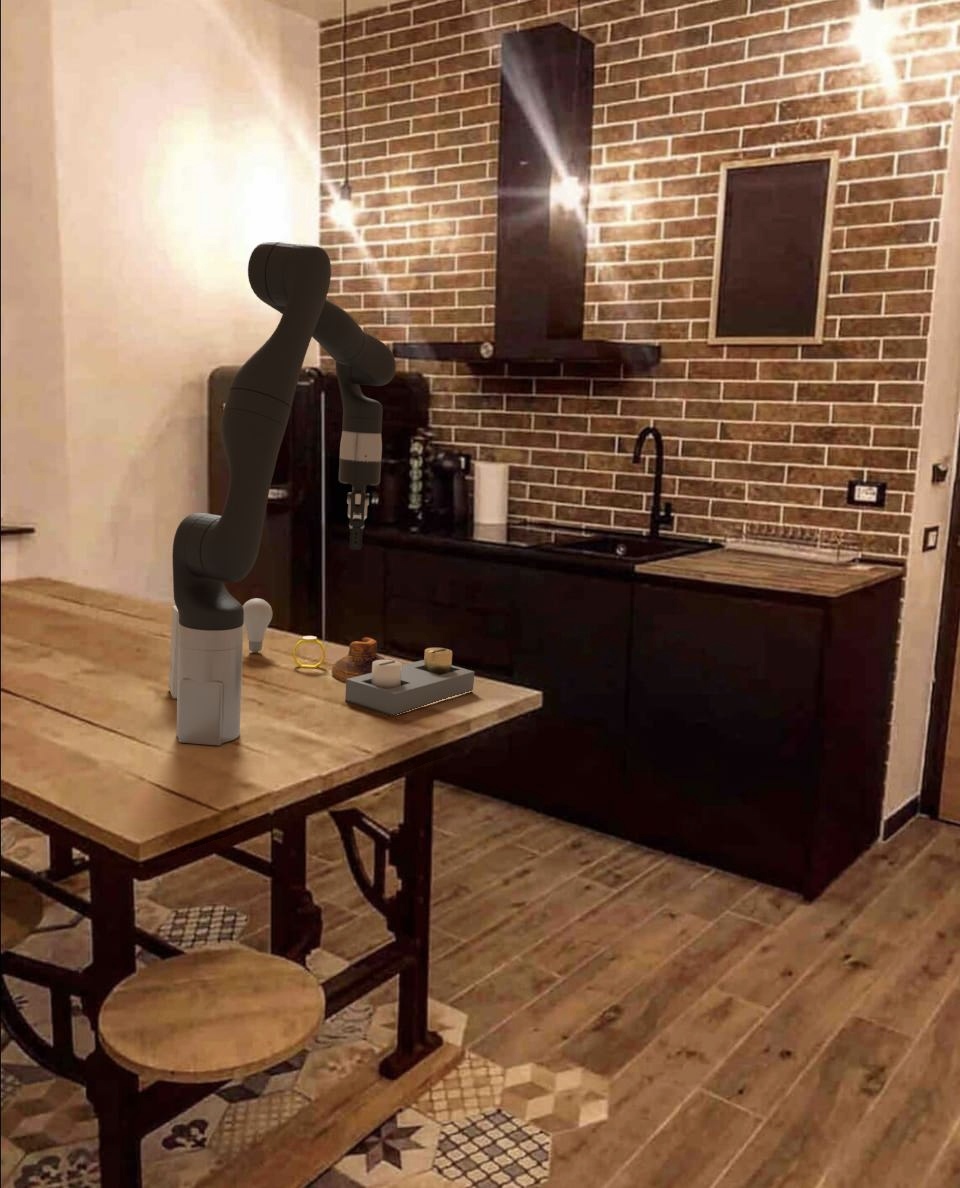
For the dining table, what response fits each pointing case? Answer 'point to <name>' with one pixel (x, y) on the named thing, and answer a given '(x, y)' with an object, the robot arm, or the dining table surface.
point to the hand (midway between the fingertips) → (355, 545)
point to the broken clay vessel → (357, 660)
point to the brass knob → (438, 660)
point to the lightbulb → (256, 622)
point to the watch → (309, 640)
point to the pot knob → (386, 673)
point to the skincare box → (174, 653)
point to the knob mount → (408, 689)
